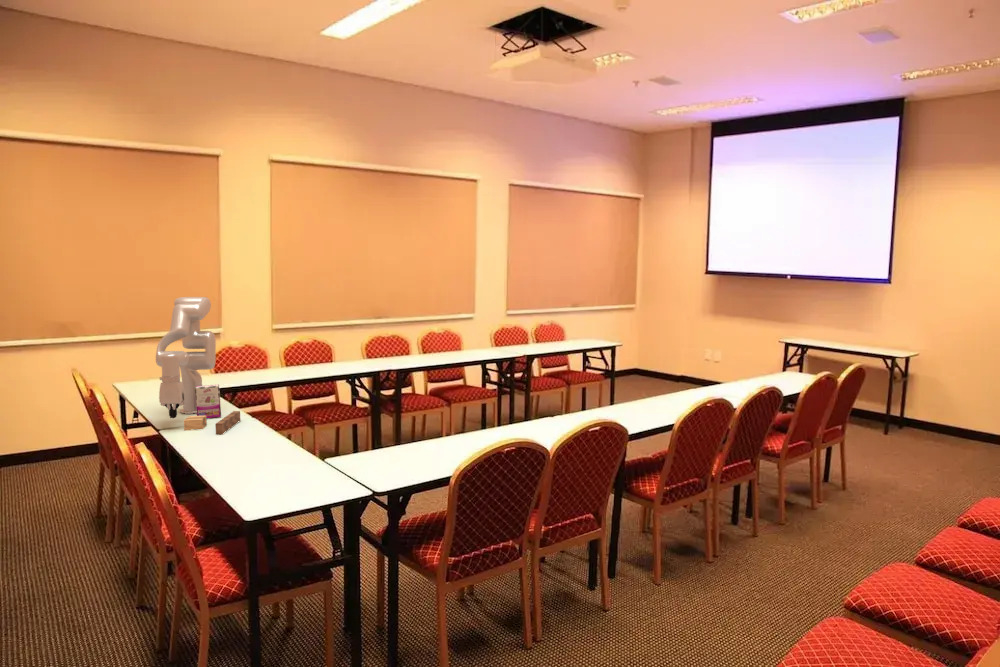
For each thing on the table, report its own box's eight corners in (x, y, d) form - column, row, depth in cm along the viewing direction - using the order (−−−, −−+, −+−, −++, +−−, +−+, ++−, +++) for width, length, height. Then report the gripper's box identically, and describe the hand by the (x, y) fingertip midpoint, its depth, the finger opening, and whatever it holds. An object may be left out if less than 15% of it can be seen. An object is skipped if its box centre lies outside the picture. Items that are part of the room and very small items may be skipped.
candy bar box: (221, 415, 340) (219, 384, 338) (221, 417, 335) (219, 385, 333) (197, 417, 336) (195, 385, 334) (196, 419, 331) (195, 387, 329)
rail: (234, 420, 329) (233, 411, 329) (240, 420, 329) (239, 411, 329) (215, 434, 306) (215, 423, 305) (222, 434, 306) (221, 423, 305)
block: (189, 426, 320) (188, 416, 319) (206, 425, 321) (206, 415, 321) (184, 430, 312) (183, 420, 312) (202, 430, 314) (201, 419, 313)
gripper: (151, 380, 309) (153, 419, 311) (183, 380, 310) (185, 419, 312) (158, 378, 317) (160, 416, 318) (190, 378, 317) (192, 415, 319)
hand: (173, 417), depth 315 cm, fingers closed
